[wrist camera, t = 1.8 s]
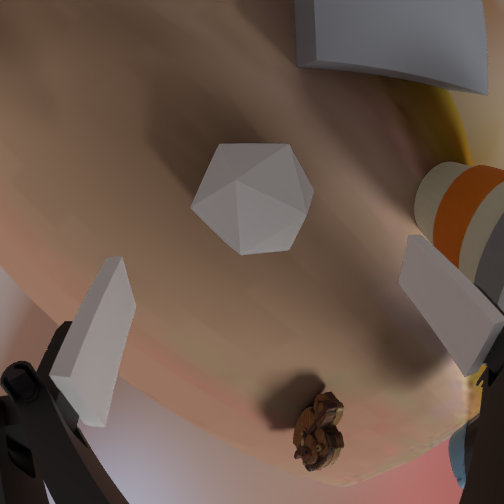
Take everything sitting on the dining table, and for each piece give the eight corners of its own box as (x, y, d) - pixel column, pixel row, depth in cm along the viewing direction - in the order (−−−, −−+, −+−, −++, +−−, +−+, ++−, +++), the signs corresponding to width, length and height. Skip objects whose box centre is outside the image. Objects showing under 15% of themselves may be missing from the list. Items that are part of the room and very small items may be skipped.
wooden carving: (306, 382, 40) (322, 443, 31) (336, 379, 40) (356, 437, 32) (285, 436, 47) (294, 484, 39) (310, 433, 48) (321, 480, 39)
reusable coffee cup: (383, 244, 30) (465, 342, 17) (420, 127, 24) (544, 174, 11) (459, 258, 32) (533, 334, 19) (494, 165, 27) (590, 217, 13)
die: (199, 132, 24) (154, 228, 20) (295, 102, 20) (272, 208, 15) (246, 192, 30) (221, 282, 26) (331, 178, 26) (322, 280, 21)
